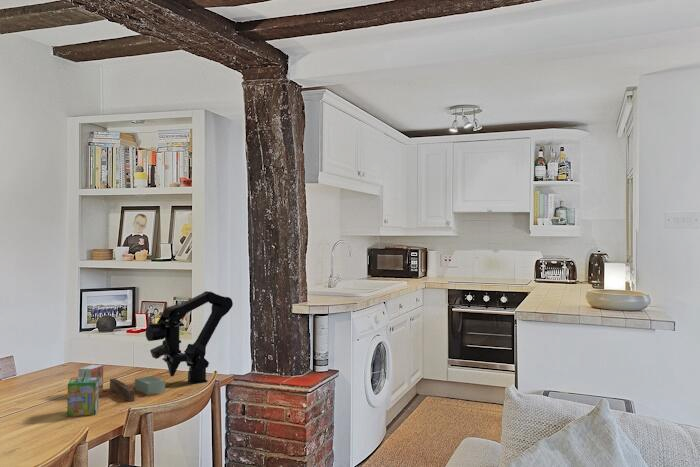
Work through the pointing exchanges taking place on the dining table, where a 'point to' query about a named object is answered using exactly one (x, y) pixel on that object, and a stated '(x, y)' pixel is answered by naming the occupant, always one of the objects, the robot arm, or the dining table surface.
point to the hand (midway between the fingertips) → (172, 376)
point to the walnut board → (122, 390)
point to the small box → (93, 373)
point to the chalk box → (83, 396)
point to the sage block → (150, 385)
